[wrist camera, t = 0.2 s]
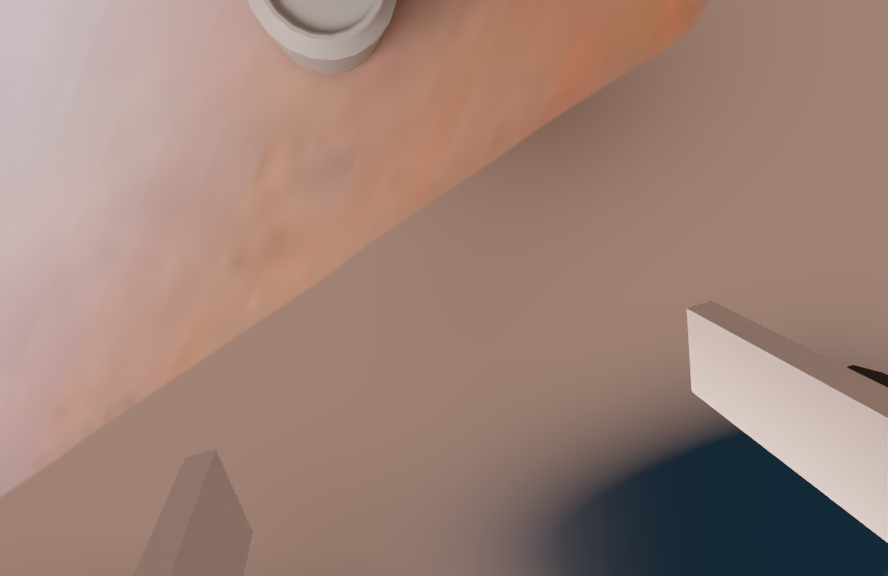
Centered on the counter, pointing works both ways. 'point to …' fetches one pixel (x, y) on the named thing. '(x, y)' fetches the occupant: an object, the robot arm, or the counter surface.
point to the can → (325, 30)
